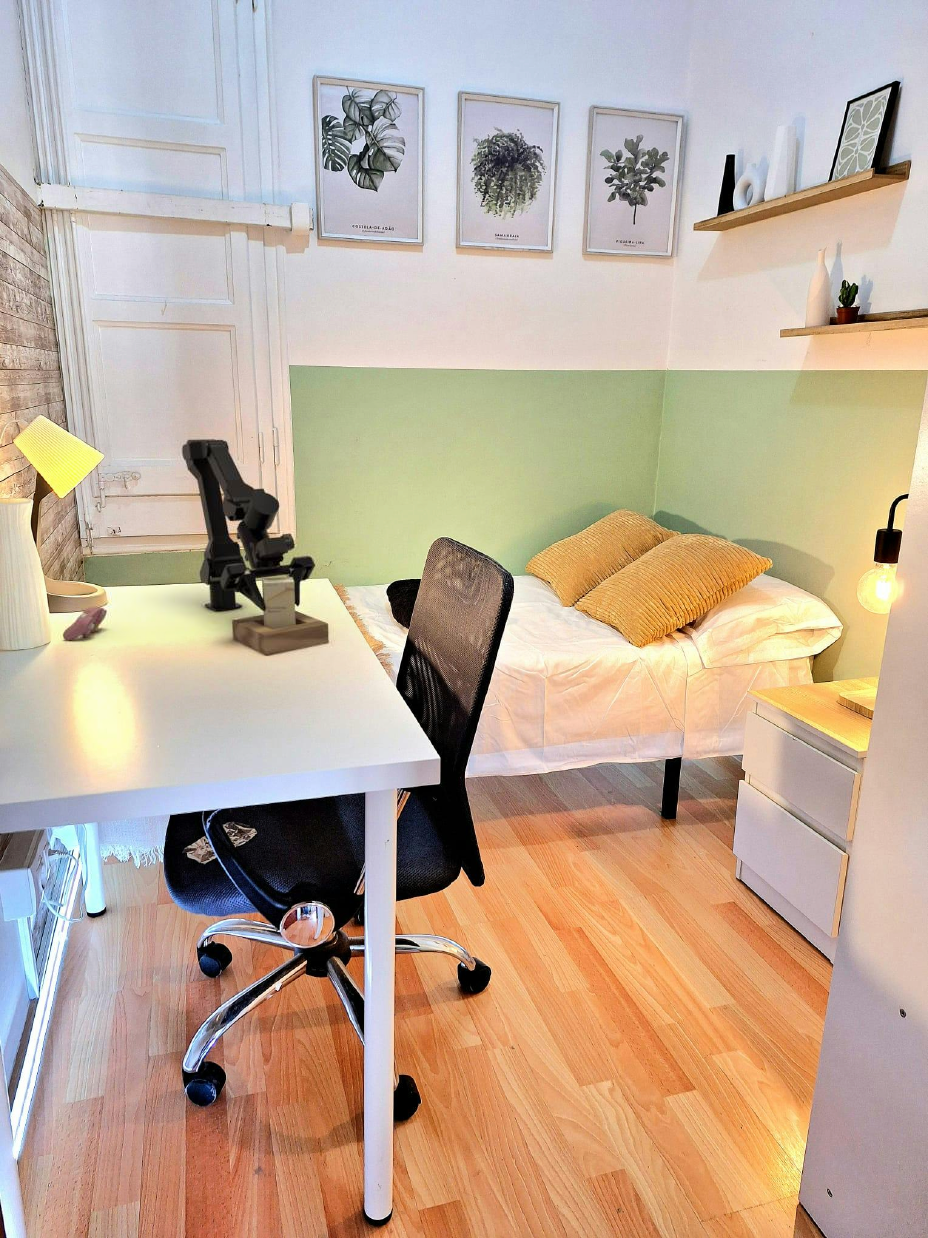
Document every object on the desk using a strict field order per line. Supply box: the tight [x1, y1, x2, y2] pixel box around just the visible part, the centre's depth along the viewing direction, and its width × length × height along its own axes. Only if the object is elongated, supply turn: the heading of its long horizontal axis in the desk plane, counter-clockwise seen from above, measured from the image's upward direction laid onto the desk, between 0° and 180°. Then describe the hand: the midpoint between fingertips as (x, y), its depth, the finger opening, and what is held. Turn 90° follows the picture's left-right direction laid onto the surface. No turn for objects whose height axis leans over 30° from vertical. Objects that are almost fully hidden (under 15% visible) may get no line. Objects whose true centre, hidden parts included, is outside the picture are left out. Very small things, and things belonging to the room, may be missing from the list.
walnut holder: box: [231, 610, 329, 656], centre depth 171 cm, size 14×14×4 cm
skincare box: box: [261, 576, 296, 629], centre depth 169 cm, size 6×4×12 cm
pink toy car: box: [62, 605, 108, 642], centre depth 172 cm, size 10×5×7 cm, turn 0°
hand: (281, 607), depth 168 cm, fingers open, 7 cm apart
